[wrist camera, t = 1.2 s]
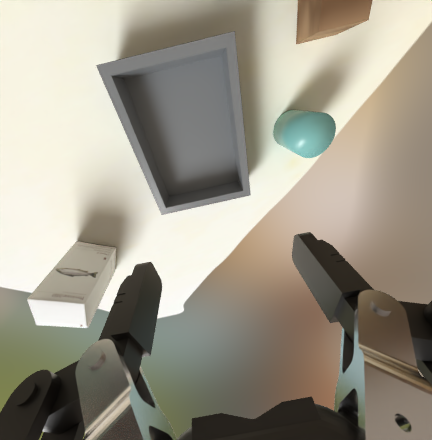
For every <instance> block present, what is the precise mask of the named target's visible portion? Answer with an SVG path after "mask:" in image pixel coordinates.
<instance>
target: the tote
mask: <svg viewBox="0 0 432 440" xmlns="http://www.w3.org/2000/svg"><path fill="white" fill-rule="evenodd" d="M96 66H97V68H98V71H99V73H100V75H101V77H102V80H103V82H104V84H105V87H106V89H107V91H108V93H109V96H110V98H111V100H112V103H113V105H114V107H115V109H116V112H117V114H118V116H119V119H120V121H121V123H122V125H123V128H124V130H125V132H126V135H127V137H128V139H129V141H130V144H131V146H132V148H133V150H134V153H135V155H136V157H137V160H138V162H139V164H140V166H141V169H142V171H143V173H144V176H145V178H146V180H147V182H148V185H149V187H150V189H151V192H152V194H153V196H154V198H155V201H156V203H157V205H158V208H159V210H160V212H161V214H162V215H163V214H168V213H173V212H177V211H182V210H186V209H191V208H195V207H200V206H204V205H209V204H213V203H218V202H222V201H227V200H231V199H236V198H240V197H245V196H249V195H250V185H249V174H248V164H247V154H246V143H245V133H244V123H243V112H242V102H241V92H240V81H239V71H238V61H237V50H236V40H235V31H233V32H229V33H225V34H221V35H217V36H213V37H209V38H205V39H201V40H197V41H193V42H189V43H185V44H181V45H177V46H173V47H169V48H165V49H161V50H156V51H152V52H148V53H144V54H140V55H136V56H132V57H128V58H124V59H120V60H116V61H112V62H108V63H104V64H100V65H96Z"/></svg>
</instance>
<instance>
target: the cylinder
mask: <svg viewBox="0 0 432 440" xmlns="http://www.w3.org/2000/svg"><path fill="white" fill-rule="evenodd" d="M335 131H336V126H335V121H334V119H333V118H332V117H331V116H330V115H329V114H326V113H321V112H310V111H300V110H289V111H287V112H285V113H283V114H282V115H281V116H280V117H279V118H278V120H277V121H276V123H275V126H274V131H273V134H274V138H275V141H276V142H277V143H278V144H279V145H281V146H283V147H285V148H287V149H289V150H291V151H293V152H294V153H296V154H298V155H300V156H302V157H305V158H312V157H316V156H318V155H320V154H321V153H323V152H324V151H325V150H326V149H327V148H328V147H329V145H330V144H331V142H332V141H333V138H334V136H335Z"/></svg>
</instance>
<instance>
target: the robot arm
mask: <svg viewBox="0 0 432 440" xmlns="http://www.w3.org/2000/svg"><path fill="white" fill-rule="evenodd" d="M292 258H293V262H294V264H295V265H296V267H297V269H298V271H299V273H300V274H301V276H302V277H303V279H304V281H305V282H306V284H307V286H308V287H309V289H310V291H311V292H312V294H313V296H314V297H315V299H316V301H317V302H318V304H319V305H320V307H321V309H322V310H323V312H324V314H325V315H326V317H327V319H328V320H329V322H330V323H333V322H338V321H339V322H340V324H341V326H342V327H343V328H342V338H341V353H340V370H339V378H338V382H337V386H336V392H335V403H334V411H333V410H331V409H329V408H327V407H324V406H321V405H318V404H314V401H313V398H312V397H308V398H301V399H296V400H291V401H286V402H281V403H280V404H279V405H277V406H275V407H274V408H272V409H270V410H269V411H267V412H266V413H264V414H262V415H261V416H259V417H258V418H256V419H247V418H242V417H238V416H233V415H228V414H223V413H220V414H214V415H209V416H203V417H198V418H192V427H190V428H189V429H187V430H186V431H185V432H184V433H183V434H181V435H180V437H179V438H178V439H177V438H176V435H175V433H174V431H173V429H172V427H171V425H170V423H169V421H168V419H167V418H166V416H165V415H164V414H163V412H162V411H161V409H160V407H159V405H158V403H157V401H156V399H155V397H154V395H153V392H152V390H151V388H150V386H149V384H148V382H147V379H146V377H145V375H144V373H143V371H142V369H141V367H140V365H141V360H142V357H145V356H150V355H151V350H152V344H153V339H154V332H155V326H156V320H157V315H158V309H159V303H160V297H161V291H162V283H161V279H160V277H159V275H158V273H157V271H156V269H155V268H154V266H153V264H152V263H151V262H147V263H142V264H137V265H136V266H135V268H134V270H133V273H132V275H131V276H127V278H126V279H125V280H124V281H123V283H122V284H121V285H120V288H119V290H118V293H117V296H116V298H115V301H114V305H113V306H112V308H111V311H110V313H109V316H108V318H107V321H106V323H105V326H104V328H103V331H102V333H101V336H100V338H99V340H98V341H97V342H95V343H94V344H92V345H91V346H90V347H89V348H88V349H87V350H86V351H85V352H84V353H83V355H82V356H81V358H80V360H78V361H77V362H75V363H73V364H71V365H69V366H67V367H65V368H63V369H62V370H60V371H58V372H56V373H52V372H50V371H48V370H40V371H37V372H35V373H34V374H32V375H30V376H29V377H28V378H26V379H25V380H24V381H23V382H22V383H21V384H20V385H19V386H18V387H17V388H16V389H15V390H14V392H13V393H12V394H11V396H10V397H9V399H8V401H7V402H6V404H5V406H4V407H3V409H2V411H1V412H0V440H39V438H40V435H41V433H42V431H43V432H44V433H43V436H42V438H41V440H432V301H431V302H430V303H429V304H428V305H427V304H419V303H410V302H402V301H397V300H396V299H395V298H393V297H392V296H390V295H388V294H386V293H384V292H381V291H378V290H374V289H373V288H372V287H371V286H370V285H369V284H368V283H367V282H366V281H365V280H364V279H363V278H362V277H361V276H360V275H359V274H358V272H357V271H356V270H354V268H353V267H352V266H351V265H350V264H349V263H348V262H347V261H345V259H344V258H343V257H342V256H341V255H340V254H339V252H338V251H337V250H336V249H335V248H334V247H333V246H332V245H330V244H329V243H327V242H325V241H323V240H317V239H316V238H315V237H314V235H313V234H311V233H310V232H307V233H302V234H297V235H295V236H294V242H293V251H292ZM418 369H419V370H420V372H421V373H422V375H423V376H424V377H425V378H424V377H422V376H421V375H420V373H419V371H418ZM84 433H85V437H84ZM83 437H84V439H83Z"/></svg>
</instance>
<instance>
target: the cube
mask: <svg viewBox="0 0 432 440" xmlns="http://www.w3.org/2000/svg"><path fill="white" fill-rule="evenodd" d="M371 5H372V0H298V14H297V37H296V44H300V43H304V42H308V41H312V40H316V39H320V38H324V37H328V36H333V35H337V34H339V33H341V32H343V31H345V30H348V29H350V28H352V27H354V26H356V25H358V24H361V23H363V22H365V21H367V20H369V15H370V10H371Z"/></svg>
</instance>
